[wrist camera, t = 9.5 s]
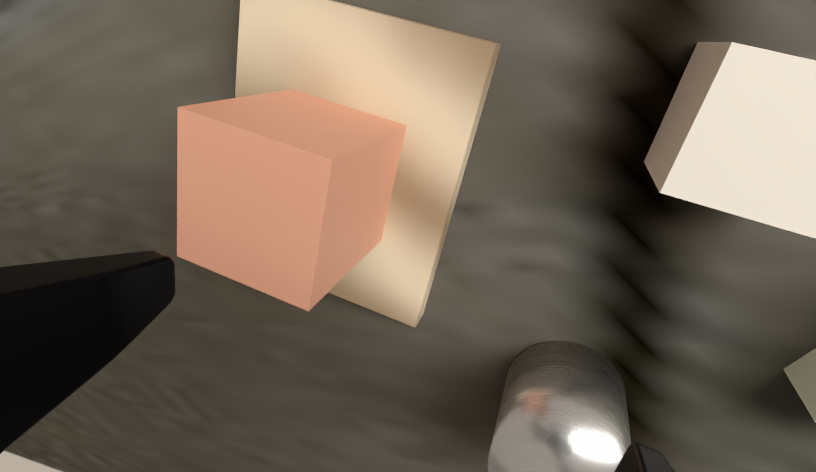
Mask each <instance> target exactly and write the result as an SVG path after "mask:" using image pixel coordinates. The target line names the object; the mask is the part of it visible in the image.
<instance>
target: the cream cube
mask: <svg viewBox="0 0 816 472" xmlns="http://www.w3.org/2000/svg"><path fill="white" fill-rule="evenodd" d="M644 163H645V165H646V167H647V169H648V171H649V173H650V175H651V177H652V179H653V181H654V183H655V185H656V187H657V189H658V191H659V192H660V193H662V194H665V195H669V196H672V197H675V198H679V199H682V200H686V201H689V202H693V203H696V204H699V205H703V206H706V207H710V208H713V209H717V210H720V211H723V212H727V213H730V214H734V215H737V216H740V217H744V218H747V219H751V220H754V221H758V222H761V223H764V224H768V225H771V226H775V227H778V228H781V229H785V230H788V231H792V232H795V233H799V234H802V235H805V236H809V237H812V238H816V61H815V60H811V59H806V58H801V57H797V56H792V55H788V54H783V53H779V52H774V51H770V50H765V49H761V48H756V47H752V46H747V45H743V44H738V43H733V42H697V45H696V47H695V49H694V51H693V54H692V56H691V58H690V60H689V62H688V65H687V67H686V69H685V71H684V74H683V76H682V78H681V80H680V82H679V85H678V87H677V89H676V91H675V94H674V96H673V98H672V100H671V102H670V105H669V107H668V109H667V111H666V114H665V116H664V118H663V120H662V123H661V125H660V127H659V129H658V131H657V134H656V136H655V138H654V140H653V143H652V145H651V147H650V149H649V151H648V154H647V156H646V158H645V160H644Z"/></svg>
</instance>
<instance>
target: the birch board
mask: <svg viewBox="0 0 816 472" xmlns="http://www.w3.org/2000/svg"><path fill="white" fill-rule="evenodd" d="M500 47H501V44H499V43H495V42H491V41H488V40H484V39H480V38H476V37H472V36H468V35H464V34H461V33H457V32H453V31H449V30H445V29H441V28H437V27H434V26H430V25H426V24H422V23H418V22H414V21H410V20H407V19H403V18H399V17H395V16H391V15H387V14H383V13H380V12H376V11H372V10H368V9H364V8H360V7H356V6H353V5H349V4H345V3H341V2H337V1H333V0H240V16H239V34H238V52H237V69H236V87H235V98H238V97H245V96H251V95H257V94H264V93H270V92H276V91H283V90H289V89H293V90H296V91H299V92H302V93H306V94H309V95H312V96H315V97H318V98H322V99H325V100H328V101H331V102H334V103H338V104H341V105H344V106H347V107H350V108H354V109H357V110H360V111H363V112H366V113H370V114H373V115H376V116H379V117H382V118H386V119H389V120H392V121H395V122H398V123H402V124H405V125H407V128H406V132H405V137H404V141H403V146H402V150H401V155H400V159H399V163H398V168H397V172H396V177H395V181H394V186H393V190H392V195H391V199H390V204H389V208H388V212H387V217H386V221H385V226H384V230H383V235H382V239H381V241H380V242H379V243H378V244H377V245H376V246H375V247H374V248H373V249H372V250H371V251H370V252H369V253H368V254H367V255H366V256H365V257H364V258H363V259H362V260H361V261H360V262H359V263H358V264H357V265H356V266H355V267H354V268H353V269H351V270H350V271H349V272H348V273H347V274H346V275H345V276H344V277H343V278H342V279H341V280H340V281H339V282H338V283H337V284H336V285H335V286H334V287H333V288H332V289H331V290H330V291H329V292H328V293H331V294H333V295H336V296H338V297H341V298H343V299H346V300H348V301H351V302H353V303H355V304H358V305H360V306H363V307H365V308H368V309H370V310H373V311H375V312H378V313H380V314H383V315H385V316H388V317H390V318H392V319H395V320H397V321H400V322H402V323H405V324H407V325H410V326H412V327H416V325H417V324H418V322H419V320H420V319H421V317H422V315H423V313H424V310H425V306H426V303H427V299H428V296H429V292H430V289H431V286H432V282H433V279H434V275H435V272H436V268H437V265H438V261H439V258H440V255H441V251H442V248H443V244H444V241H445V237H446V234H447V230H448V227H449V223H450V220H451V217H452V213H453V210H454V206H455V203H456V199H457V196H458V192H459V189H460V185H461V182H462V179H463V175H464V172H465V168H466V165H467V161H468V158H469V154H470V151H471V148H472V144H473V141H474V137H475V134H476V130H477V127H478V123H479V120H480V116H481V113H482V110H483V106H484V103H485V99H486V96H487V92H488V89H489V85H490V82H491V78H492V75H493V72H494V68H495V65H496V61H497V58H498V54H499V51H500Z"/></svg>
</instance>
